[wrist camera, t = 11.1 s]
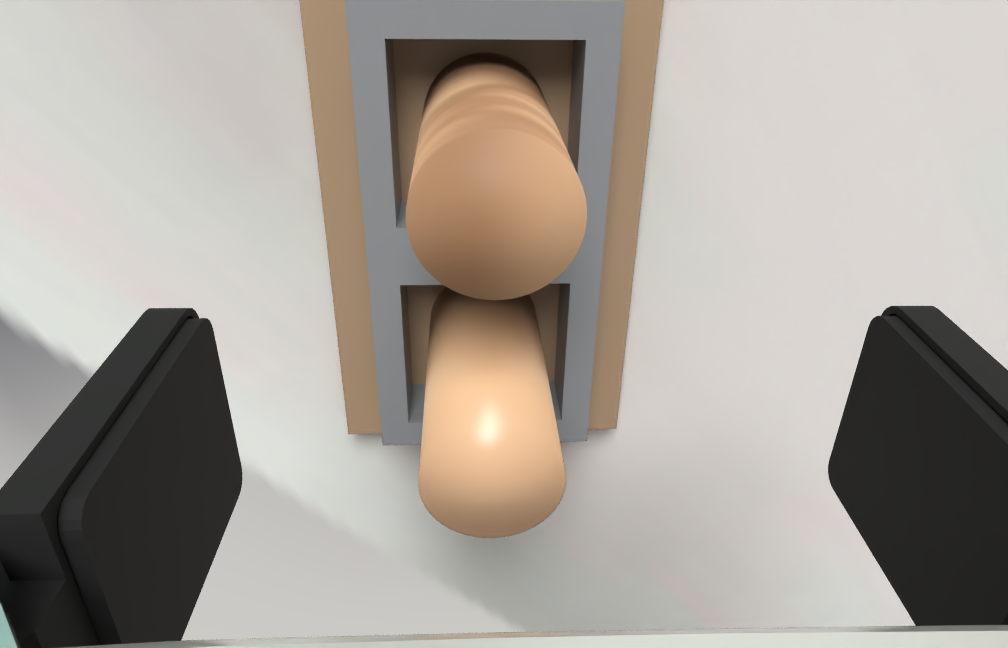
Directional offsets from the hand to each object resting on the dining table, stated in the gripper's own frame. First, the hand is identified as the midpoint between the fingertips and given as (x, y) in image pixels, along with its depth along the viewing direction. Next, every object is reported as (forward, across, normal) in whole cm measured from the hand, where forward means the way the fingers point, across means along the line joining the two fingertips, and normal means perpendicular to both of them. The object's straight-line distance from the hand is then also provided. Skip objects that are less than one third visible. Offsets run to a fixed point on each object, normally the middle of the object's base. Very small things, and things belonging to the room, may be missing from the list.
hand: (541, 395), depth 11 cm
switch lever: (+16, +1, 0) cm, 16 cm away
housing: (+17, +1, +4) cm, 17 cm away
